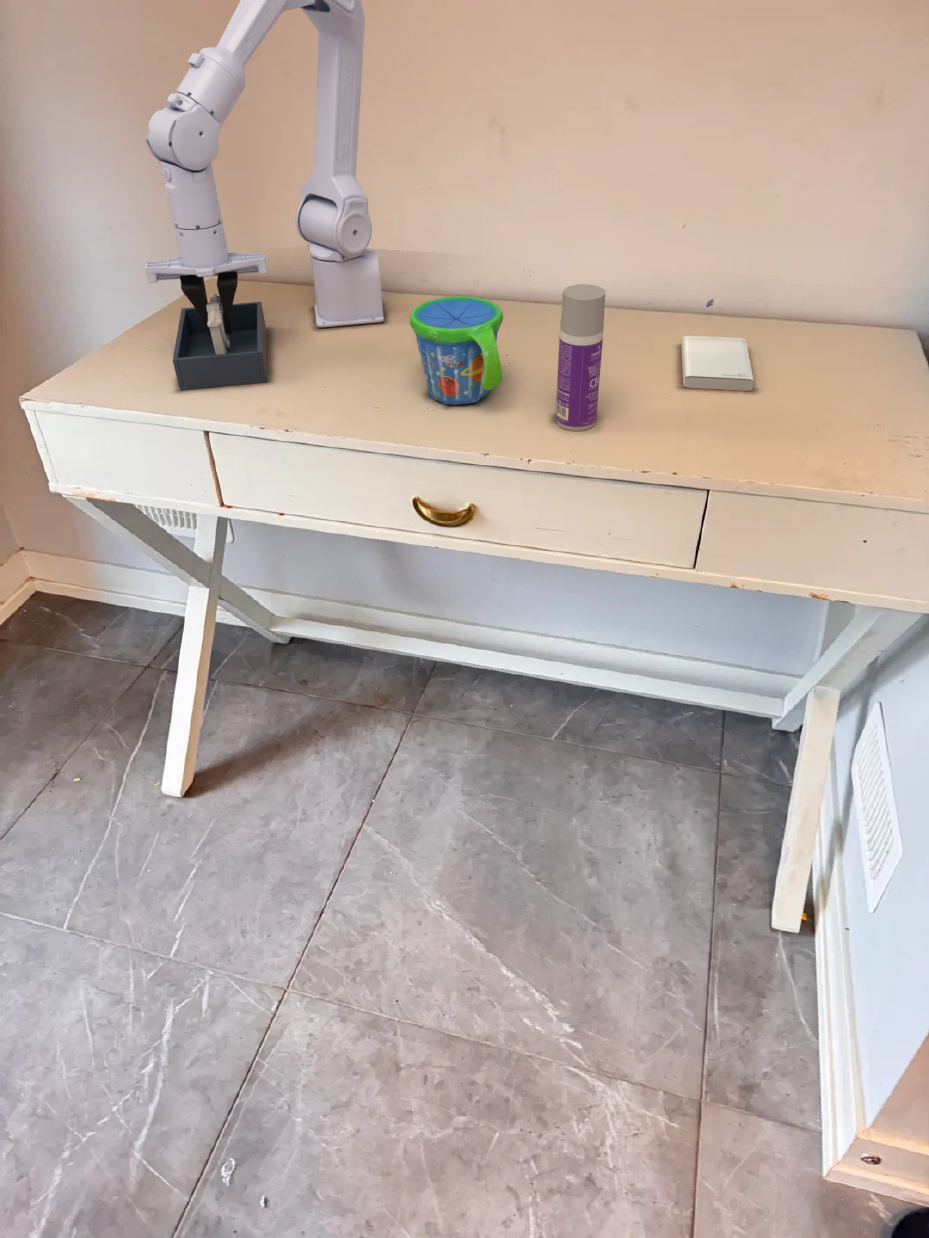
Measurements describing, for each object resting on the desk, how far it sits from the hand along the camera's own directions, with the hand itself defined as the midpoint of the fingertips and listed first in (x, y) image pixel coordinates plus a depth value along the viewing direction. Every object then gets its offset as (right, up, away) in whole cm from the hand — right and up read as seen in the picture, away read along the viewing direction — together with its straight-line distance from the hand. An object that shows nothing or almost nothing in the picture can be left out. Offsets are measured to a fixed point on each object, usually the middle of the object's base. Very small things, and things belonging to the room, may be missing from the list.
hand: (220, 332), depth 116 cm
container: (+45, -15, -13) cm, 49 cm away
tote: (0, -3, +2) cm, 3 cm away
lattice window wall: (0, -1, +1) cm, 2 cm away
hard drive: (+64, -6, -3) cm, 64 cm away
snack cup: (+31, -10, -7) cm, 33 cm away
